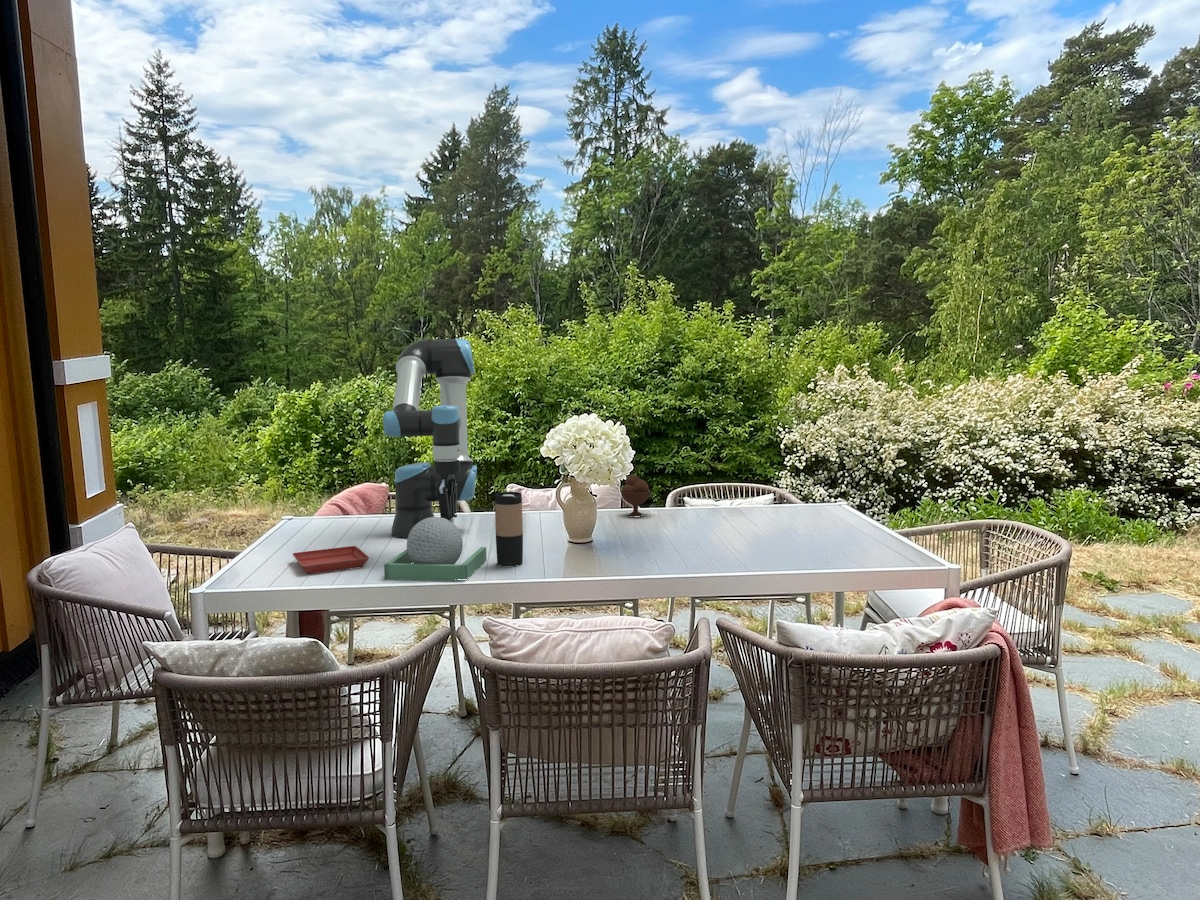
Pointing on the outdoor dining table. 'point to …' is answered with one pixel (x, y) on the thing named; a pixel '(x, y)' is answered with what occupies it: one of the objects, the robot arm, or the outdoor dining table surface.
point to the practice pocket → (432, 568)
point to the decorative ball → (434, 542)
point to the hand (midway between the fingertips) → (449, 540)
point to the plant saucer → (331, 559)
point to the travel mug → (509, 528)
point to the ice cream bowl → (635, 493)
